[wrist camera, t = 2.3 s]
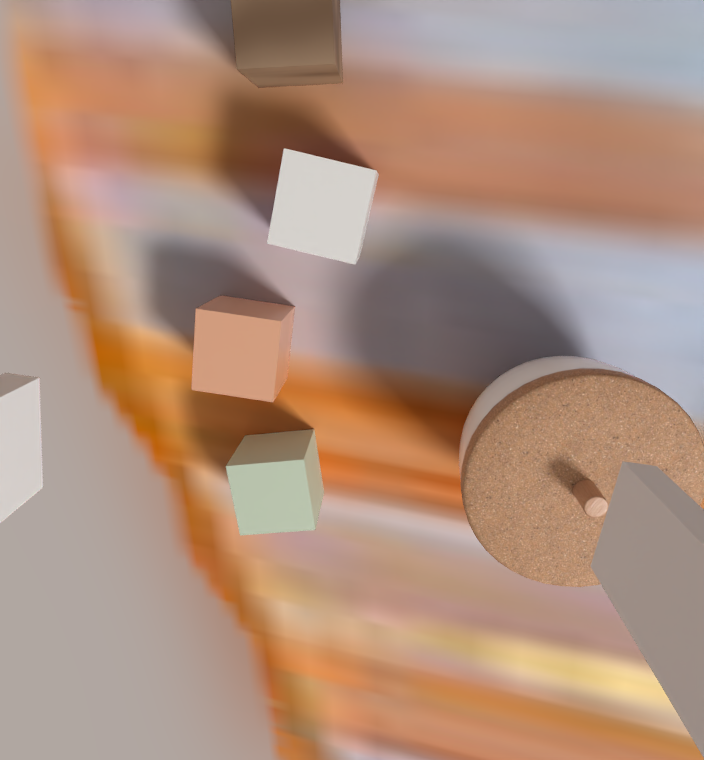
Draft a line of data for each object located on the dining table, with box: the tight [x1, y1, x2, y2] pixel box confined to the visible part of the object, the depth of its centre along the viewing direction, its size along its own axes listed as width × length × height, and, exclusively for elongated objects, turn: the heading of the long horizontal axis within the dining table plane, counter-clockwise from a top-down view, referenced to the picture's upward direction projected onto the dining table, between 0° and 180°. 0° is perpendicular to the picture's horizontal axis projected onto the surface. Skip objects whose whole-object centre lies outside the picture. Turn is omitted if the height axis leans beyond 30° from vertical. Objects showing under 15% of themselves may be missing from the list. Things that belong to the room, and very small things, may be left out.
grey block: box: [267, 148, 378, 264], centre depth 33 cm, size 5×5×5 cm
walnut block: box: [231, 0, 343, 88], centre depth 30 cm, size 5×5×5 cm
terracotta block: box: [192, 295, 295, 402], centre depth 36 cm, size 5×5×5 cm
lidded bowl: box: [459, 356, 704, 587], centre depth 33 cm, size 13×13×11 cm
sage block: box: [226, 429, 324, 535], centre depth 38 cm, size 5×5×5 cm
